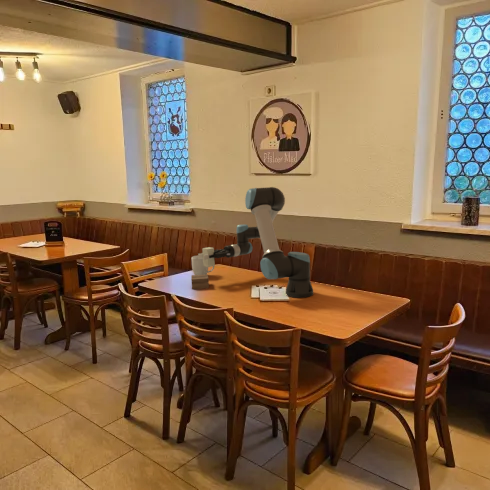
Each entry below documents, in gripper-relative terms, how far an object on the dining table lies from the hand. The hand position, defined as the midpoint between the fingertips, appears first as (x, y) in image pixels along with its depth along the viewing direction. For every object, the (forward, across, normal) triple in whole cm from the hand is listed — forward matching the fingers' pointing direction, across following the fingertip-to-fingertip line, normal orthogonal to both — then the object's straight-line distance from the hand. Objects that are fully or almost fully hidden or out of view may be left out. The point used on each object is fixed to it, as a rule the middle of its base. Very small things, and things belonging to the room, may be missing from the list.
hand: (201, 256), depth 260 cm
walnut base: (+2, 0, -18) cm, 18 cm away
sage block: (-5, 0, -6) cm, 8 cm away
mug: (-14, +21, -18) cm, 31 cm away
